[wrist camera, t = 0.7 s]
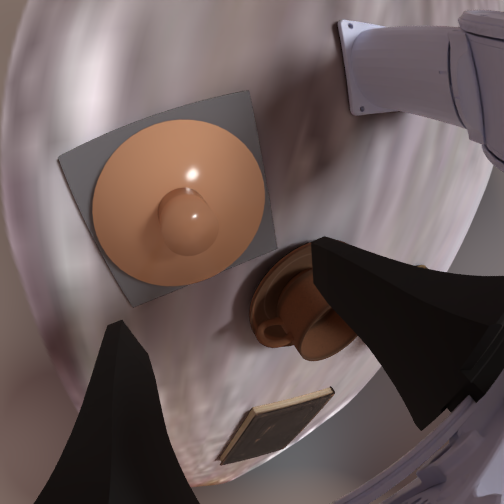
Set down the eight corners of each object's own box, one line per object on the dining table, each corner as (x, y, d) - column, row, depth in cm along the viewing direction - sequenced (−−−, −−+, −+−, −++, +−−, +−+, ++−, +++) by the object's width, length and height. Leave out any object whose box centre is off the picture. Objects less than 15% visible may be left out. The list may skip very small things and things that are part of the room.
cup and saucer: (268, 350, 29) (294, 392, 24) (218, 281, 22) (248, 336, 17) (355, 290, 30) (390, 323, 25) (339, 206, 23) (390, 238, 18)
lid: (242, 99, 15) (269, 99, 12) (270, 245, 21) (294, 270, 18) (67, 161, 12) (51, 176, 10) (135, 300, 19) (140, 335, 16)
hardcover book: (216, 456, 44) (220, 465, 43) (249, 404, 35) (255, 416, 34) (281, 440, 52) (285, 447, 50) (330, 384, 43) (336, 393, 41)
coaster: (246, 90, 15) (249, 90, 15) (275, 246, 22) (277, 248, 22) (59, 155, 12) (58, 157, 12) (132, 304, 19) (132, 307, 19)
